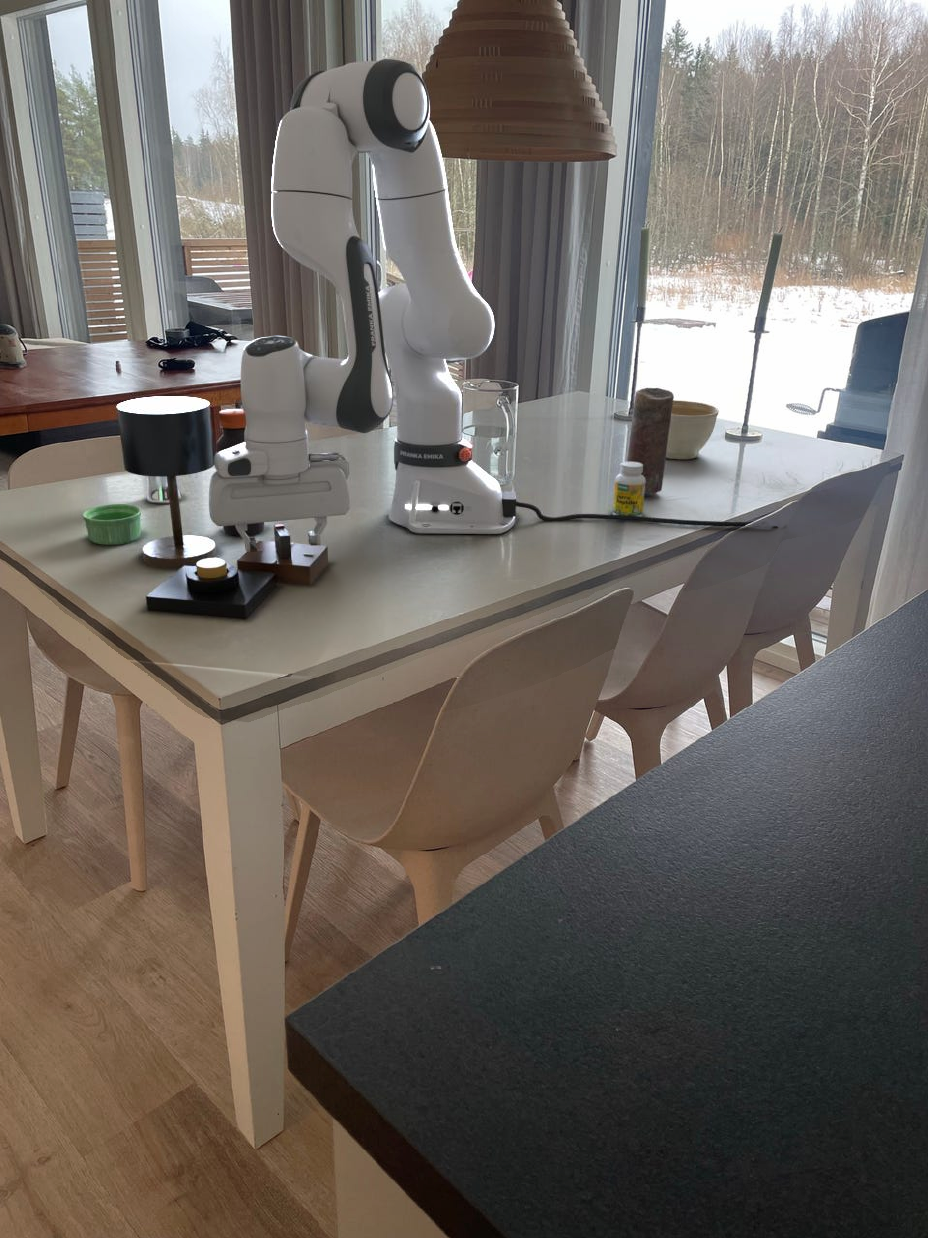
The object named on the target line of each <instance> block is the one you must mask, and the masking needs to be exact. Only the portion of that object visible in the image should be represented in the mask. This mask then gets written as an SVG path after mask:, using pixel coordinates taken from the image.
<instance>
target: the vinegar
mask: <svg viewBox="0 0 928 1238" xmlns="http://www.w3.org/2000/svg"><path fill="white" fill-rule="evenodd" d="M218 416H219V418H218V419H219V426H220V430H221V431H222V435H221V436H220V437H219V438H218V440H216V443H215V450H216V451H215V452H216V453H218V452H221V451H223V450H226V449H229V448H231V447H234V446H236V445H239V444H241V443H244V442H245V438H244V433H245V428H246V416H245V413H244V410H243V408H227V409H223V410H220V411H219V412H218ZM216 453H215V454H216ZM222 527H223V528H222V529H223V532H224V533H225V534H227V535H230V536H233V537H241V535H240V534H239V532H238V531H237V529H236V525H230V526H222ZM265 528H266V527H265V522H263V523H252V524H247V531H245V533H246V534H247V536H248V537H249V536H254V535H258V534H261V533H262V532H263V531H264V530H265Z"/></svg>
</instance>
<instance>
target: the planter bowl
mask: <svg viewBox="0 0 928 1238" xmlns="http://www.w3.org/2000/svg"><path fill="white" fill-rule="evenodd" d="M719 412H720V410H719V408H718V407H716V406H713V405H711V404H707V403H704V402H697V401H689V400H674V399H673V406H672V413H671V421H670V428H669V435H668V444H667V452H666V459H670V460H671V459H672V460H687V461H688V460H692V459H695V458H698V455H699V452H700V450H702V449H703V447H705V446H706V444H707V442H708V441H709V439H710V438H711V437H712V434H713V432H714V429H715V426H716V422H717V419H718V415H719Z"/></svg>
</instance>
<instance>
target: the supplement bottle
mask: <svg viewBox="0 0 928 1238" xmlns="http://www.w3.org/2000/svg"><path fill="white" fill-rule="evenodd" d="M642 471H643V464H641V463H638V462H627V461H623V462H620V465H619V472H620V473H619V474H617V475H616V476H615V479H614V491H613V492H614V493H613V503H612V506H613V507H612V515H625V516H639V517H643V512H644V503H645V496H644V493H645V482H646V480H645V477H644V476H643V475H641V473H642Z"/></svg>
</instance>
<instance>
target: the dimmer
mask: <svg viewBox="0 0 928 1238" xmlns="http://www.w3.org/2000/svg"><path fill="white" fill-rule="evenodd" d="M256 543H257V545H256V547H257V551H256V552H246V551H245V553H244V554H242V555H241V556H240V557H239V558H238V559H237V560H236V568H237V570H246V571H259V572H271V573H276V578H277V584H288V585H289V584H290V585H303V586H312V584H313V583H314V582H315V581H316V579H317V578H318V577H319V576H320V575H321V574H322V572H323V571H324V570H325V569H326V568H327V566H328V565H329V547H328V545H322V544H320V545H316V546H310V544H305V543H295V542H294V541H292V542H291V558H283V559H281V557H280V555H279V553H278V552H277V550H276V548H275V541H268V540H267V541H265V540H258V541H256Z"/></svg>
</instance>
